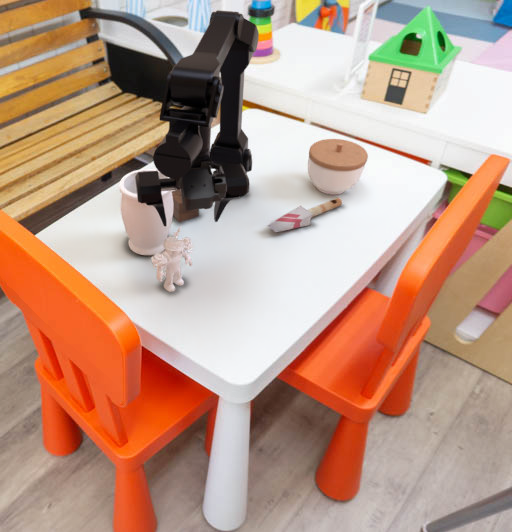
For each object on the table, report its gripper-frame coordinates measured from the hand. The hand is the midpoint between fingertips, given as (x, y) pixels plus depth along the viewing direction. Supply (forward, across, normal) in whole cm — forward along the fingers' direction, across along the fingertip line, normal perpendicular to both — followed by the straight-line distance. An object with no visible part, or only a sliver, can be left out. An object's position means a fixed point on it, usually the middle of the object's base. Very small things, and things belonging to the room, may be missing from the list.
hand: (190, 222), depth 95 cm
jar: (+13, -7, +10) cm, 18 cm away
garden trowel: (+13, +28, +14) cm, 34 cm away
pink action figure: (+13, -4, -3) cm, 13 cm away
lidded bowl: (+13, +38, +26) cm, 48 cm away
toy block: (+13, +2, +20) cm, 24 cm away
